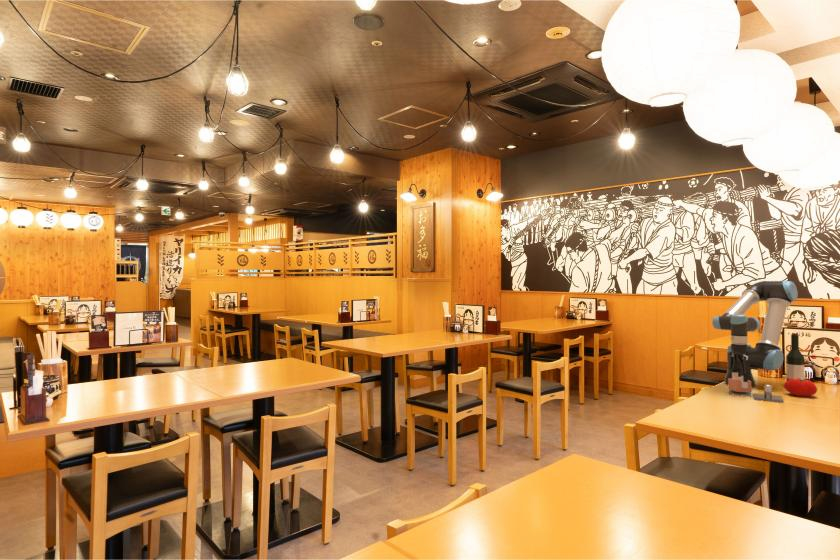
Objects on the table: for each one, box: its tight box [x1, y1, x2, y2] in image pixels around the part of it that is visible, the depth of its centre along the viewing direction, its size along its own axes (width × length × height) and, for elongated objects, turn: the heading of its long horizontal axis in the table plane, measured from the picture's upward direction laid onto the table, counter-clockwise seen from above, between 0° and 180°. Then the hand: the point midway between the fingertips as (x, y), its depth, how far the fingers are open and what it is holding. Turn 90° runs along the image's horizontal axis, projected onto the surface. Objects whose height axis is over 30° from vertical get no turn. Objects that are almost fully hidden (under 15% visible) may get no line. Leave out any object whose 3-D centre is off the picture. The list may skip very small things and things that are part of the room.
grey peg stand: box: [752, 384, 785, 404], centre depth 251 cm, size 12×12×7 cm
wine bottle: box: [785, 332, 806, 381], centre depth 282 cm, size 8×8×30 cm
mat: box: [728, 389, 752, 397], centre depth 264 cm, size 10×10×1 cm
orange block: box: [727, 377, 752, 393], centre depth 264 cm, size 8×8×7 cm
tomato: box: [783, 379, 818, 397], centre depth 258 cm, size 14×13×9 cm
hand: (739, 386), depth 264 cm, fingers closed on orange block, 8 cm apart
